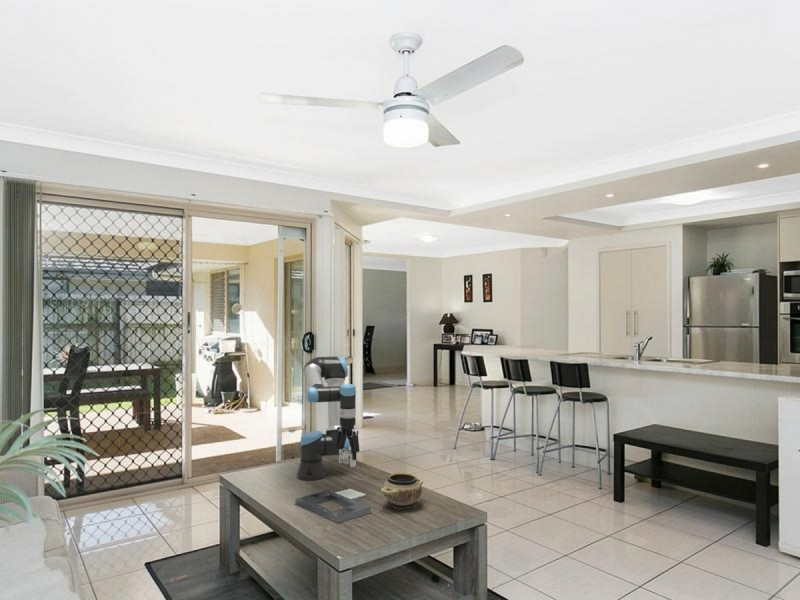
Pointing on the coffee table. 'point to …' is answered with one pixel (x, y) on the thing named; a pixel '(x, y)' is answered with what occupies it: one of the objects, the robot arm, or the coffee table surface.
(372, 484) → the coffee table surface
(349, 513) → the dark grey rectangular frame
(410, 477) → the ceramic bowl
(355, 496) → the pale green flat panel
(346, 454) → the game die
